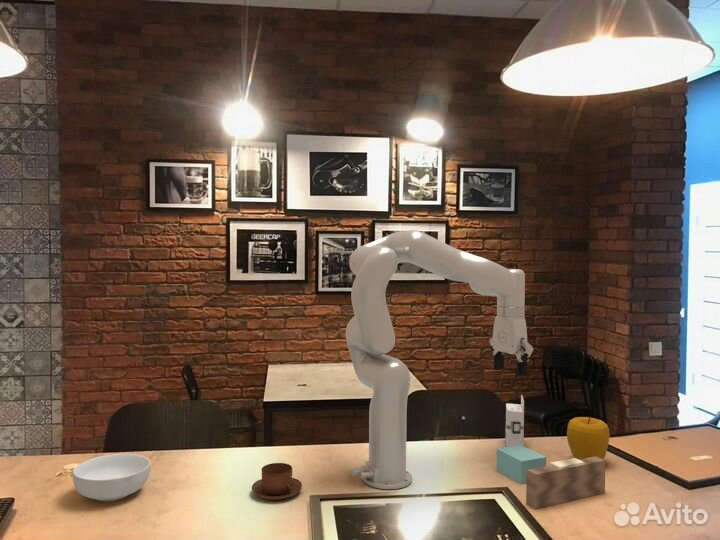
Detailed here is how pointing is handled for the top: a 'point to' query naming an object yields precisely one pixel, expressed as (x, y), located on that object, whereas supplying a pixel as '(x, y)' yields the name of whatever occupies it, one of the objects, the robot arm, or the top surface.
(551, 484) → the walnut box
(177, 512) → the top surface
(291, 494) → the cup and saucer
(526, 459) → the teal block
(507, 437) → the ink box
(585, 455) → the apple
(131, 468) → the cereal bowl
